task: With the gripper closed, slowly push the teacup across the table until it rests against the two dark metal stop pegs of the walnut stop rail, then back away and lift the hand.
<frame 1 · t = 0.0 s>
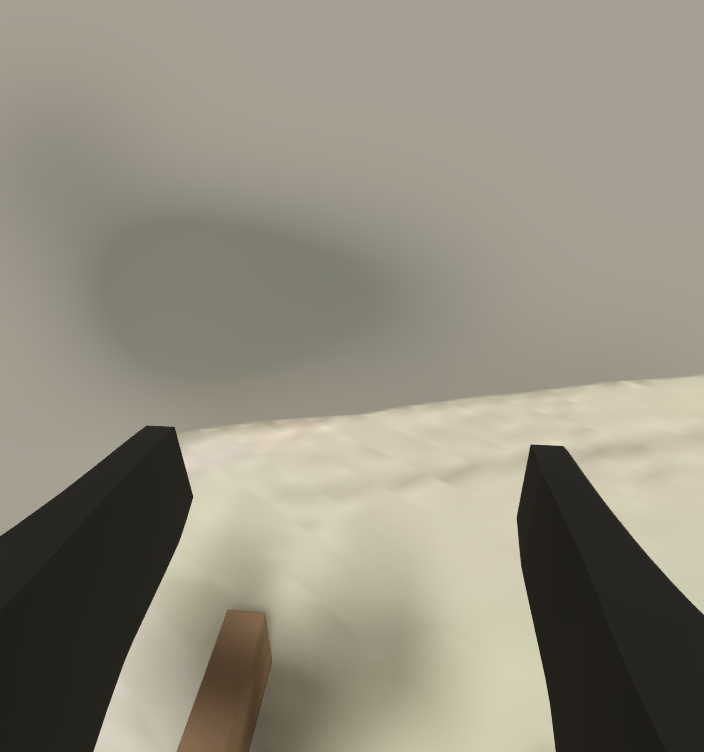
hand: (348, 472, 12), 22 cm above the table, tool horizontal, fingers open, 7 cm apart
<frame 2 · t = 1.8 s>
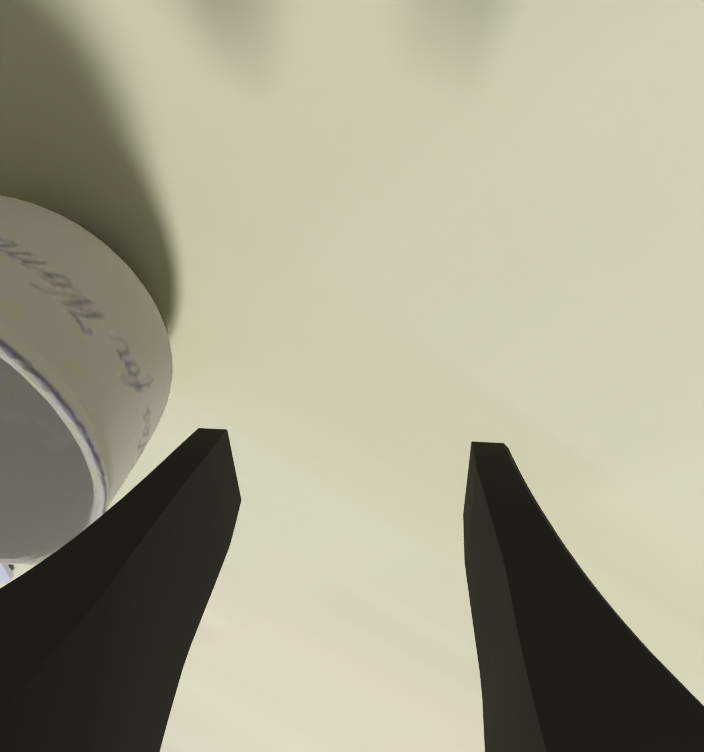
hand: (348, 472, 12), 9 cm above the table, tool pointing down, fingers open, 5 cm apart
teacup: (43, 270, 21), on the table
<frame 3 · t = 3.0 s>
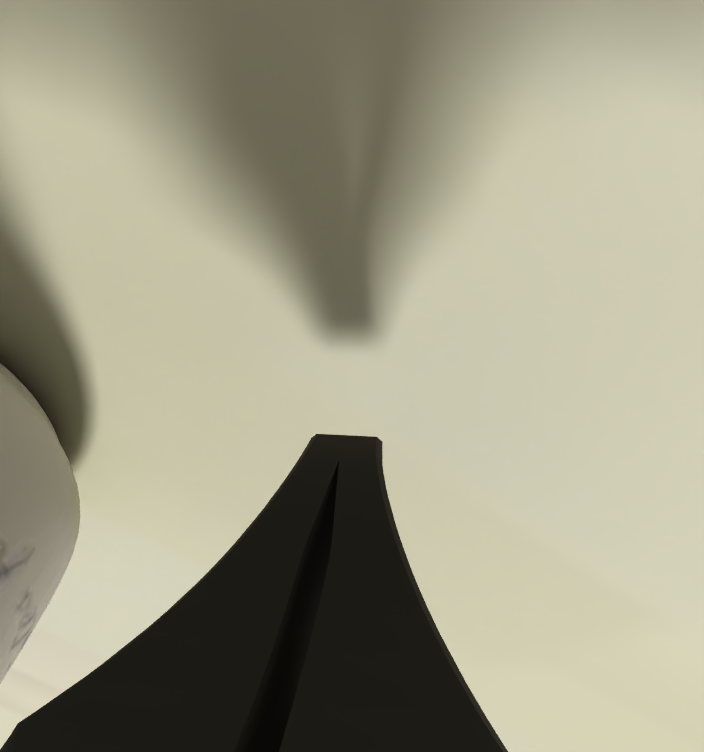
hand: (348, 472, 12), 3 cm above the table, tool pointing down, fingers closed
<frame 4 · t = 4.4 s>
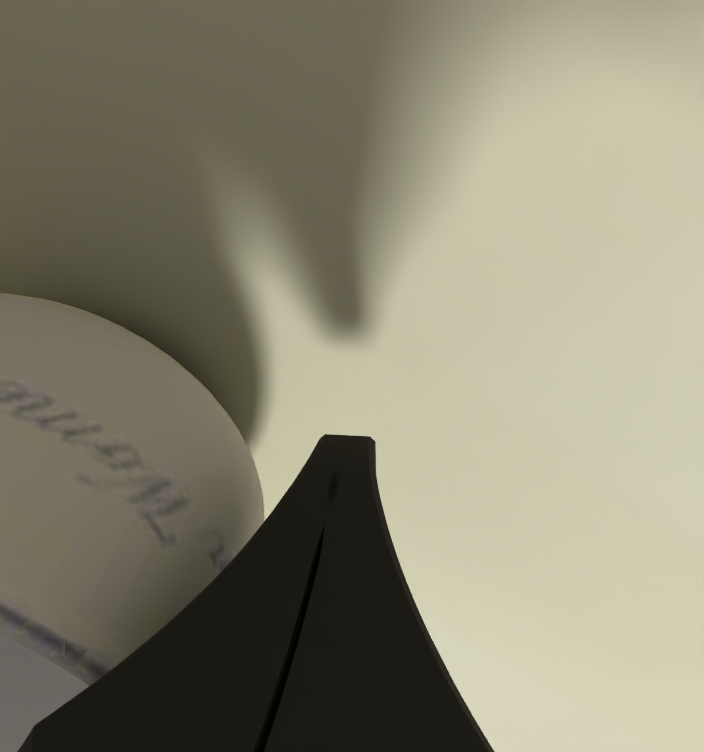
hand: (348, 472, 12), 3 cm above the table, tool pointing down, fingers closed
teacup: (75, 373, 15), on the table, touching gripper
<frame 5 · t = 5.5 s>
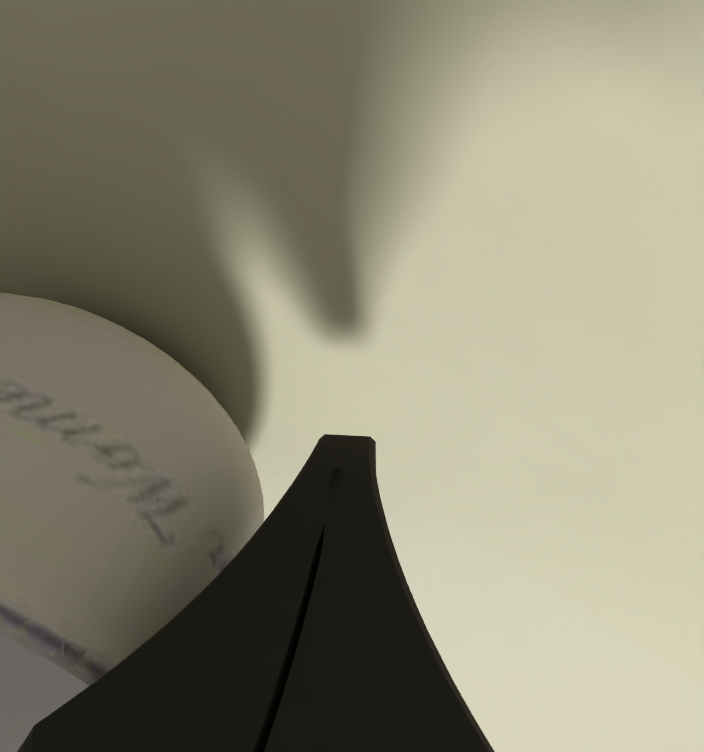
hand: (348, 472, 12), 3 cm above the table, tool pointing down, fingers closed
teacup: (75, 373, 15), on the table, touching gripper
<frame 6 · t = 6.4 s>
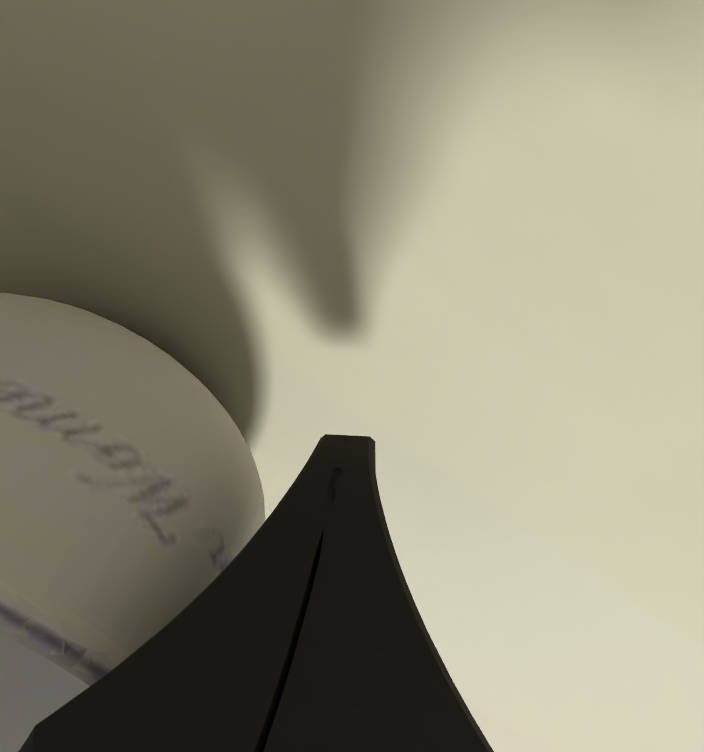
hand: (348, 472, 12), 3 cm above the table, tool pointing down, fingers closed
teacup: (76, 373, 15), on the table, touching gripper
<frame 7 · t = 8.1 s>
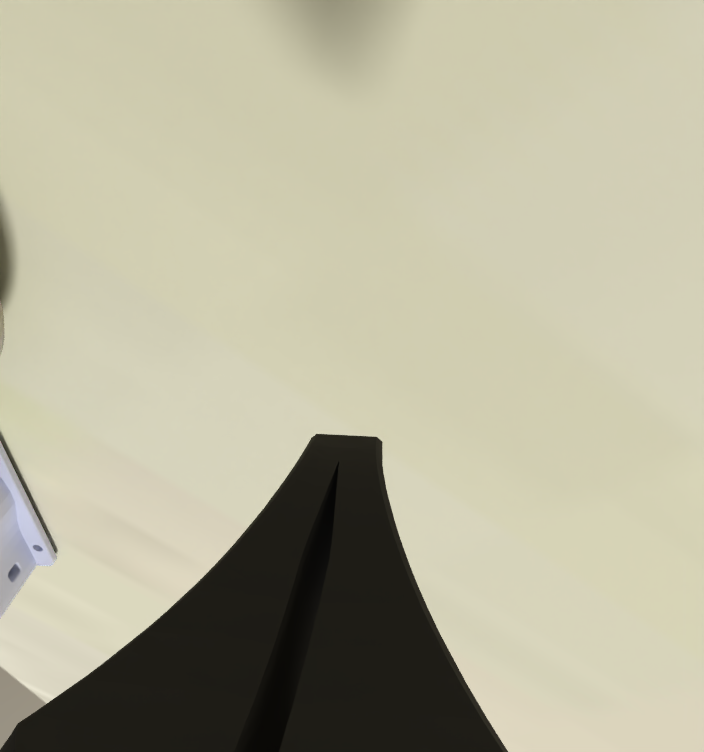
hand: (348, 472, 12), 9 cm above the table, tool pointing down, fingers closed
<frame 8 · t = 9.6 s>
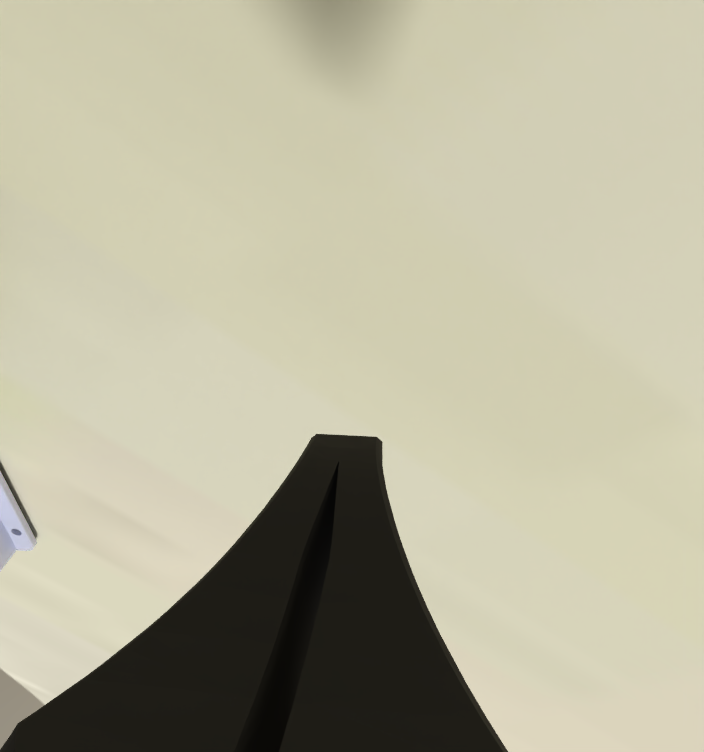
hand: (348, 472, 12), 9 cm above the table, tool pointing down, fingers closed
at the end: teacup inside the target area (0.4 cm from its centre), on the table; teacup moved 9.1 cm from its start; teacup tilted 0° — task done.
